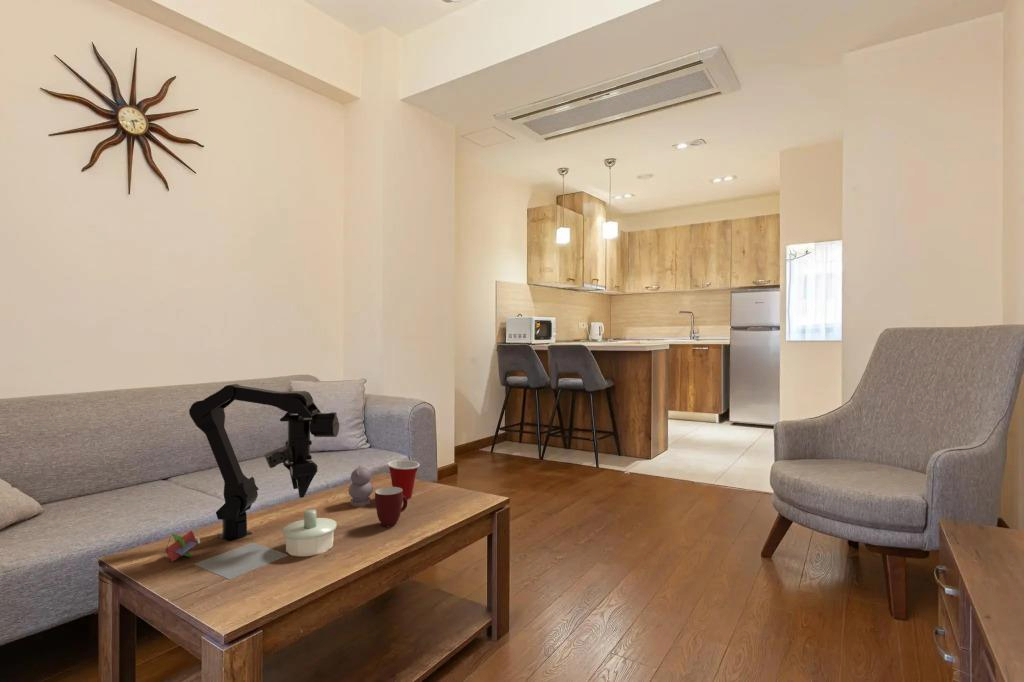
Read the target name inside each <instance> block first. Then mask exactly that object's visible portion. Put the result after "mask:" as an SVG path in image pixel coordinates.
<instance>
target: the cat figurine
mask: <svg viewBox="0 0 1024 682" xmlns="http://www.w3.org/2000/svg"><path fill="white" fill-rule="evenodd" d="M371 479H372V472H371V470H370V469H368V468H367V467H364V466H361V464H359V465H358V467H356V468H355V469H353V470H352V472H351V474H350V480H351V484H350V485H349V486H348V495H349V496H350V498H351V499H350V506H352V505H353V507H364V506H363V505H365V506H368V505H370V504H371V497H370V496H371V495H372V493H373V491H374V485H373V484H372V483H371ZM369 503H370V504H369ZM367 504H368V505H367Z"/></svg>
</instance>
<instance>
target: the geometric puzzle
mask: <svg viewBox="0 0 1024 682" xmlns="http://www.w3.org/2000/svg"><path fill="white" fill-rule="evenodd" d="M186 532H187V533H186V534H184V535H183V536H180V535H176V534H174V533H171V536H170V537H172V538H173V539H174V542H173V543H172V544H171V545H168V546H167V547H166V548H165V549H164V550H165V553H167V555H168V558H169V560H170V562H175V561H177V560H178V559H179V558H181V557H182V556H183V557H185V558H188V559H190V558H192V556H191V553H190V550H192V549H194V547H197V546H198V544H201V540H200V539H201V538H200V535H199V534H198V535H197V534H196V536H195V535H194V531H193V530H189V531H186ZM181 533H182V532H180V534H181ZM170 540H171V539H168V542H167V543H168V544H169V543H170ZM196 549H197V548H195V550H194V552H193V554H195V552H196Z"/></svg>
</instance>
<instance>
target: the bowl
mask: <svg viewBox="0 0 1024 682" xmlns="http://www.w3.org/2000/svg"><path fill="white" fill-rule="evenodd" d="M334 531H335V530H334ZM334 531H333V532H332V533H330V534H327V535H325V536H322V537H318V538H313V539H304V540H296V539H289V538H286V537H285V552H286V553H287V554H288V555H291V556H292V557H310V556H316V555H320V554H323V553H325V552H327V551H329V550H330V549H331V548H332V547H333V546H334V535H335V534H334V533H335V532H334Z"/></svg>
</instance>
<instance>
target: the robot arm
mask: <svg viewBox="0 0 1024 682" xmlns="http://www.w3.org/2000/svg"><path fill="white" fill-rule="evenodd" d="M234 401H241V402H246V403H252V404H261V405H266V406H267V405H268V406H273V407H275V408H277V409H279V410H281V411H284V412H285V414H284V415H283V416H282V417H280V418H279V421H280V422H287V439H286V441H285V443H284V444H285V445H284V446H282V447H279V448H277V449H273V450H272V451H270V452H268V453H267V452H266V453H265V454H264V455H263V456H264V458H265V460H266V463H267V466H268V467H269V469H274V468H276V467H277V466H278V465H281V464H282V465H283V466H284V468H286V469H287V470H288V472H289V474H290V475H289V476H290V479H291V484H292V488H293V489H294V490H297V491H298V496H299V498H300V499H301V498H303V499H304V498H305V495H306V494H307V492H308V489H309V487H310V485H311V483H312V481H313V479H314V477H315V476H316V474H317V473H318V464H317V463H315V462H314V461H313V460H312V458H313V457H312V455H311V446H312V445H313V443H312V440H311V435H312V436H313V437H314V438H336V437H337V436H338V434H339V432H340V422H339V418H338V416H337V412H335V411H333V412H332V411H331V412H321V411H320V408H318V406H317V404H315V402H314V399H313V396H312V395H311V393H310V392H309V391H306V390H289V391H277V390H270V389H263V388H258V387H254V386H253V387H251V386H245V385H241V384H238V383H233V384H227V385H225V386H223V387H222V388H221V389H220V390H218V391H216V392H215V393H213V394H211V395H209V396H208V397H205V398H204V399H201V400H196V401H195V402H194V403H192V404H191V406H190V408H189V409H188V415H189V416H190V419H192V421H193V424H194V425H195V426H196V427H197V428H198V429H199V430H201V432H202V433H204V435H205V437H206V440H207V442H208V444H209V446H210V447H209V448H210V450H211V452H212V454H213V456H214V460H215V462H216V464H217V467H218V469H219V471H220V474H221V477H222V479H223V498H224V504H223V505H222V506H221V507H220V508H219V509H217V510H216V511H215V514H216V518H217V520H221V521H222V533H220V534H218V535H217V536H216V537H217V538H219V539H222V540H224V541H227V542H232V541H235V540H239V539H241V538H243V537H246V536H250V535H252V534H253V532H251V531H249V530H248V521H247V519H248V518H247V511H249V510H250V509H251V507H252V506H253V504H254V503H255V502H256V501H257V498H258V491H259V490H260V488H259V487H258V486H257V485H256V480H255V478H254V477H253V476H251V477H250V478H248V477H247V476H246V475H245V474H244V473H243V471H242V468H241V466H240V464H239V461H238V459H237V456H236V453H235V450H234V448H233V445H232V443H231V441H230V438H229V435H228V433H227V431H226V428H225V422H226V414H225V413H226V412H225V409H226V408H227V407H229V406H230V405H231V404H232V403H233V402H234ZM337 438H338V437H337Z"/></svg>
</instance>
